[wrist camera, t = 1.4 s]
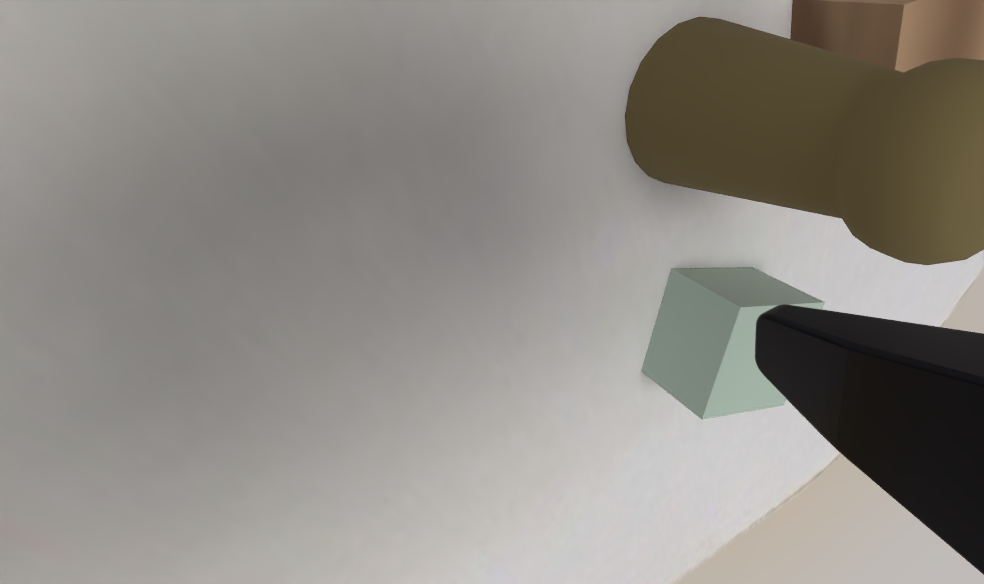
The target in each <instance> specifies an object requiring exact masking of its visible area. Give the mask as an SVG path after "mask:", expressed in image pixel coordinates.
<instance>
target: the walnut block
mask: <svg viewBox="0 0 984 584" xmlns="http://www.w3.org/2000/svg"><path fill="white" fill-rule="evenodd" d="M791 40H794V41H797V42H801V43H804V44H808V45H811V46H814V47H818V48H821V49H825V50H828V51H832V52H835V53H839V54H842V55H846V56H849V57H852V58H856V59H859V60H863V61H866V62H870V63H873V64H877V65H880V66H883V67H887V68H890V69H894V70H897V71H901V72H906V71H908V70H910V69H913V68H915V67H918V66H920V65H923V64H925V63H927V62H930V61H936V60H943V59H951V58H966V59H977V60H984V0H793V3H792V22H791Z"/></svg>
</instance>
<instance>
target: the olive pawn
mask: <svg viewBox="0 0 984 584" xmlns="http://www.w3.org/2000/svg"><path fill="white" fill-rule="evenodd" d="M625 120H626V132H627V142H628V145H629V147H630V150H631V152H632V155H633V157H634V160H635V162H636V163H637V164H638V165H639V166H640V167H641V168H642V170H643V171H644V172H645V173H646V174H647V175H648V176H650V177H652V178H655V179H657V180H659V181H662V182H664V183H669V184H674V185H678V186H683V187H688V188H693V189H698V190H703V191H708V192H713V193H718V194H723V195H728V196H733V197H738V198H743V199H748V200H753V201H758V202H763V203H768V204H773V205H778V206H783V207H788V208H793V209H798V210H803V211H808V212H813V213H818V214H822V215H827V216H832V217H837V218H842V219H843V221H844V222H845V224H846V225H847V227H848V228H849V230H850V232H851V233H852V235H853V236H855V237H856V238H857V239H859V240H860V241H861V242H863V243H864V244H866V245H867V246H868V247H870V248H872V249H874V250H876V251H879V252H881V253H883V254H886V255H888V256H891V257H893V258H896V259H898V260H901V261H903V262H907V263H915V264H922V265H932V264H939V263H946V262H953V261H959V260H966V259H968V258H969V257H971V256H973V255H975V254H976V253H978V252H980V251H982V250H983V249H984V60H977V59H966V58H951V59H943V60H936V61H930V62H927V63H925V64H923V65H920V66H918V67H915V68H913V69H910V70H908V71H906V72H901V71H897V70H894V69H890V68H887V67H883V66H880V65H877V64H873V63H870V62H866V61H863V60H859V59H856V58H852V57H849V56H846V55H842V54H839V53H835V52H832V51H828V50H825V49H821V48H818V47H814V46H811V45H808V44H804V43H801V42H797V41H794V40H790V39H787V38H783V37H780V36H776V35H773V34H770V33H766V32H763V31H759V30H756V29H752V28H749V27H745V26H742V25H739V24H735V23H732V22H728V21H725V20H721V19H715V18H706V17H697V18H694V19H691V20H688V21H685V22H682V23H679V24H677V25H676V26H675V27H674V28H672V29H671V30H670V31H668V32H667V33H666V34H664V35H663V36H662V37H661V38H659V39H658V40H657V42H656V43H655V44H654V46H653V47H652V48H651V50H650V51H649V52H648V54H647V55H646V56H645V58H644V59H643V60H642V62H641V64H640V66H639V69H638V71H637V73H636V76H635V78H634V80H633V83H632V85H631V87H630V92H629V97H628V103H627V109H626V114H625Z"/></svg>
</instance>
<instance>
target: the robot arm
mask: <svg viewBox="0 0 984 584" xmlns="http://www.w3.org/2000/svg"><path fill="white" fill-rule="evenodd" d="M755 361H756V364H757V367H758V369H759V370H760V372H761V373H762V374H763V375H764V376H765V377H766V378H767V379H768V380H769V381H770V382H771V383H772V385H773V386H774V387H775V388H776V389H777V390H778V391H779V392H780V393H781V394H782V395H783V396H784V397H785V398H786V399H787V400H788V401H789V402H790V403H791V404H792V405H793V406H794V407H795V408H796V409H797V410H798V411H799V412H800V413H801V414H802V415H803V416H804V417H805V418H806V419H807V420H808V421H809V422H810V423H811V424H812V425H813V426H814V428H815V429H816V430H817V431H818V432H819V433H820V434H821V435H822V436H823V437H824V438H825V439H826V440H827V441H828V442H830V443H831V444H832V445H833V446H834V447H835V448H836V449H837V450H838V451H839V452H840V453H841V454H843V455H844V456H845V457H846V458H847V459H848V460H849V461H850V462H852V463H853V464H854V465H855V466H857V467H858V468H859V469H860V470H861V471H862V472H864V473H865V474H866V475H867V476H868V477H870V478H871V479H872V480H873V481H874V482H875V483H876V484H878V485H879V486H880V487H881V488H882V489H883V490H885V491H886V492H887V493H888V494H889V495H891V496H892V497H893V498H894V499H895V500H896V501H898V502H899V503H900V504H901V505H902V506H904V507H905V508H906V509H907V510H908V511H909V512H911V513H912V514H913V515H914V516H915V517H917V518H918V519H919V520H920V521H921V522H922V523H923V524H925V525H926V526H927V527H928V528H930V529H931V530H932V531H933V532H934V533H935V534H936V535H938V536H939V537H940V538H941V539H942V540H944V541H945V542H946V543H947V544H949V545H950V546H951V547H952V548H953V549H954V550H955V551H957V552H958V553H959V554H960V555H961V556H962V557H964V558H965V559H966V560H967V561H968V562H970V563H971V564H972V565H973V566H974V567H975V568H977V569H978V570H979V571H980V572H981V573H983V574H984V334H982V333H975V332H968V331H961V330H955V329H948V328H942V327H935V326H928V325H921V324H915V323H908V322H901V321H895V320H888V319H881V318H874V317H868V316H861V315H854V314H848V313H841V312H834V311H827V310H821V309H814V308H807V307H801V306H794V305H787V304H782V305H778V306H776V307H774V308H772V309H770V310H768V311H766V312H764V313H762V314H761V315H760V316H759V317H758V319H757V321H756V333H755Z"/></svg>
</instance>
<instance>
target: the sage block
mask: <svg viewBox="0 0 984 584" xmlns="http://www.w3.org/2000/svg"><path fill="white" fill-rule="evenodd" d="M824 303H825V302H823V301H821V300H819V299H817V298H815V297H812V296H810V295H808V294H806V293H804V292H802V291H800V290H798V289H796V288H794V287H792V286H790V285H788V284H786V283H784V282H781V281H779V280H777V279H775V278H773V277H771V276H769V275H767V274H765V273H763V272H761V271H759V270H757V269H755V268H753V267H742V268H682V269H671V272H670V275H669V278H668V282H667V285H666V289H665V292H664V296H663V299H662V302H661V306H660V309H659V313H658V316H657V319H656V323H655V326H654V330H653V333H652V336H651V340H650V343H649V347H648V350H647V354H646V357H645V360H644V364H643V367H642V372H643V373H644V374H645V375H647V376H648V377H649V378H650V379H652V380H653V381H654V382H655V383H657V384H658V385H659V386H660V387H662V388H663V389H664V390H666V391H667V392H668V393H669V394H671V395H672V396H673V397H674V398H676V399H677V400H678V401H679V402H681V403H682V404H683V405H684V406H686V407H687V408H688V409H689V410H691V411H692V412H693V413H694V414H696V415H697V416H698V417H700V418H701V419H707V418H713V417H719V416H725V415H730V414H736V413H742V412H748V411H753V410H759V409H765V408H771V407H776V406H782V405H784V403H785V401H786V398H785V397H784V396H783V395H782V394H781V393H780V392H779V391H778V390H777V389H776V388H775V387H774V386H773V385H772V383H771V382H770V381H769V380H768V379H767V378H766V377H765V376H764V375H763V374H762V373H761V372H760V370H759V369H758V367H757V364H756V361H755V333H756V321H757V319H758V317H759V316H760V315H761V314H762V313H764V312H766V311H768V310H770V309H772V308H774V307H776V306H778V305H782V304H787V305H794V306H801V307H807V308H814V309H821V310H822V308H823V305H824Z"/></svg>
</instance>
